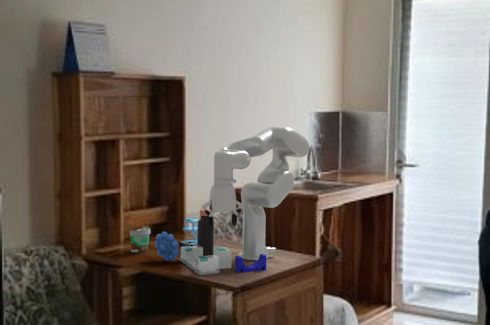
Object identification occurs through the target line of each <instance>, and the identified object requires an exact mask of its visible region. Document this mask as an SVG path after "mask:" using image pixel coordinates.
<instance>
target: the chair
mask: <svg viewBox="0 0 490 325" xmlns="http://www.w3.org/2000/svg"><path fill="white" fill-rule="evenodd" d="M199 220H200V218H199V219H198V218H192V217H187V218H185V219H184V220H183V222H184V225H185V226H184V227H183V228H182V230H184V231H189V232H191V234H192V236H193V238H194V239H192V240H191V239H190V240H189V239H188V240H183V241H182V240H181V241H180V242H181V243H183V244H182V245H186V244H188V245H187V246H190V245H194V246H197V245H196V244H197V235H196V233H198V226H196V225H195V224H197V223H198V221H199ZM187 223H189V224H192V226H188V224H187ZM195 232H196V233H195ZM188 242H191V243H188Z"/></svg>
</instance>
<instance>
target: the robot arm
mask: <svg viewBox="0 0 490 325" xmlns="http://www.w3.org/2000/svg"><path fill="white" fill-rule="evenodd" d="M270 150H272V158H271V159H272V160H271V161H270V162H269V164H268V165H266V167H265V168H264V169H263V170H262V171H261V172H260V173H259V175H258V176H257V179H256V181H257V182H256V181H255V182H253V181H252V182H251V181H250V182H248V183H245V184H244V185H243V186H242V187H241V190H240V197H241V202H240V201H238V200H237V196H236V195H237V194H236V189H235V186H234V184H236V183H237V180H236V179H234V170H244V169H246V168H248V167H249V166H250V163H251V160H252V158H255V157H261V156H263V155H264V154H266V153H268V152H269V151H270ZM309 152H310V143H309V140H307V138H306V137H305V136H303V135H301V134H300V133H299V132H297V131H296V130H294V129H293V128H290V127H288V126H287V127H286V126H269V127H266V128H265V129H264V130H262V131H260V132H258V133H257V134H255V135H254V136H252V137H247V138H245V139H241V140H237V141H235V142H232V143H230V144H227V145H226V146H224V147H222V148H220V150H219V151H216V152H215V153H214V154H213V159H214V160H213V185H211V187H210V192H209V200H208V201H207V202H205V203H203V204H202V205H201V209H203V210H204V212H205V213H206V214H207V216H208V224H209V226H210V227H213V221H214V216H213V215H215V213H219V212H223V213H224V212H231V213H232V215H231V225H232V226H235V227H236V226H237V224H238V216H239V214H240V213H241V212H242V249H241V250H242V251H241V252H239V253H238V256H240V257H242V260H245V261H258V259H259V256H260V254H264V255H267V256H266V260H268V259H269V254H270V253H275V252H276V251H277V249H276V247H270V246H266V226H267V225H266V222H267V221H266V220H267V219H266V217H267V216H266V213H265V212H266V211H265V210H264V208H268V209H269V208H270V209H271V208H272V209H273V208H276V207H278V206H279V205H280V204H281V203H282V202H283V200H284V199H285V198H286V197H287V196H288V195H289V194H290V193H291V191H292V190H293V187H294V185H295V175H294V174H293V173H292V172H291V171H290V170H289V169H290V165H289V162H288V160H287V157H293V158H304V157H305V156H307V155H308V154H309ZM237 206H238V207H237ZM207 209H210V210H209V211H208V210H207Z"/></svg>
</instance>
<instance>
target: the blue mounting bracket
mask: <svg viewBox="0 0 490 325" xmlns="http://www.w3.org/2000/svg"><path fill="white" fill-rule="evenodd" d="M266 256H267V255H264V254H260V256H259V259H258V260H254V261H253V263H251V264H248V265H246V264H244V262H243V259H242V257H240V256H239V255H235V259H234V260H235V261H234V262H235V263H234V270H235V271H234V272H236V273H238V274H239V273H251V272H260V271H266V270H267V259H266Z"/></svg>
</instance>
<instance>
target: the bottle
mask: <svg viewBox="0 0 490 325" xmlns="http://www.w3.org/2000/svg"><path fill="white" fill-rule="evenodd" d="M207 210H208V211H209V210H210V209H209V208H207ZM199 217H200V218H199V221H198V222H197V227H198V232H196V233H197V235H196V237H197V245H196V246H201V247H203V256H211V255H213V248H214V243H215V242H214V240H215V239H214V236H215V234H214V232H215V227H214V226H215V221H214V220H213V227H210V226H209V224H208V216H207V214H206V213H205V212H204V210H203V209H202V208H201V209H200V210H199Z"/></svg>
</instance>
